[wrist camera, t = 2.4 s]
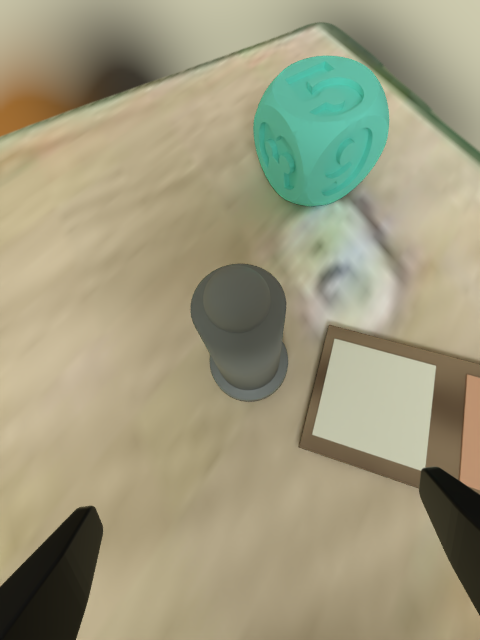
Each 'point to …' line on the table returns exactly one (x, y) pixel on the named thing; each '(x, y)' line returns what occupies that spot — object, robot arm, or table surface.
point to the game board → (394, 409)
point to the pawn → (242, 329)
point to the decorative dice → (320, 129)
